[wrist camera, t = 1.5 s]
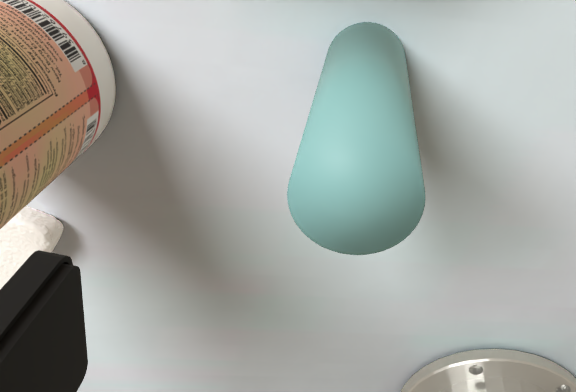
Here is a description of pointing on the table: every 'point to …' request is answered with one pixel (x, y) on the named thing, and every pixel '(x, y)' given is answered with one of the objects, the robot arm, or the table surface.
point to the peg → (359, 148)
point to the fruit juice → (47, 95)
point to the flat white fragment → (26, 239)
